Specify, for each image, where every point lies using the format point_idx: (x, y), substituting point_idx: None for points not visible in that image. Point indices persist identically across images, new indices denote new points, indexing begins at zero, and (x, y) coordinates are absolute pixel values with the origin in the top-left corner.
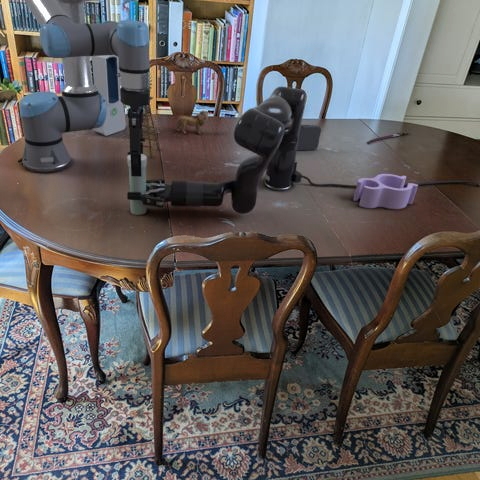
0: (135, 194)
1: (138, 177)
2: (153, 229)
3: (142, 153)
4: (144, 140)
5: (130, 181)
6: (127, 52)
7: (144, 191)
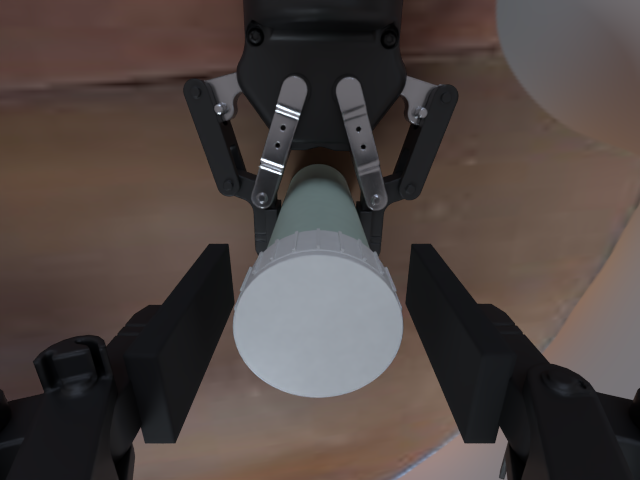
0: (369, 232)
1: None
2: (460, 129)
3: (199, 290)
4: (91, 352)
5: None
6: None
7: (340, 192)
